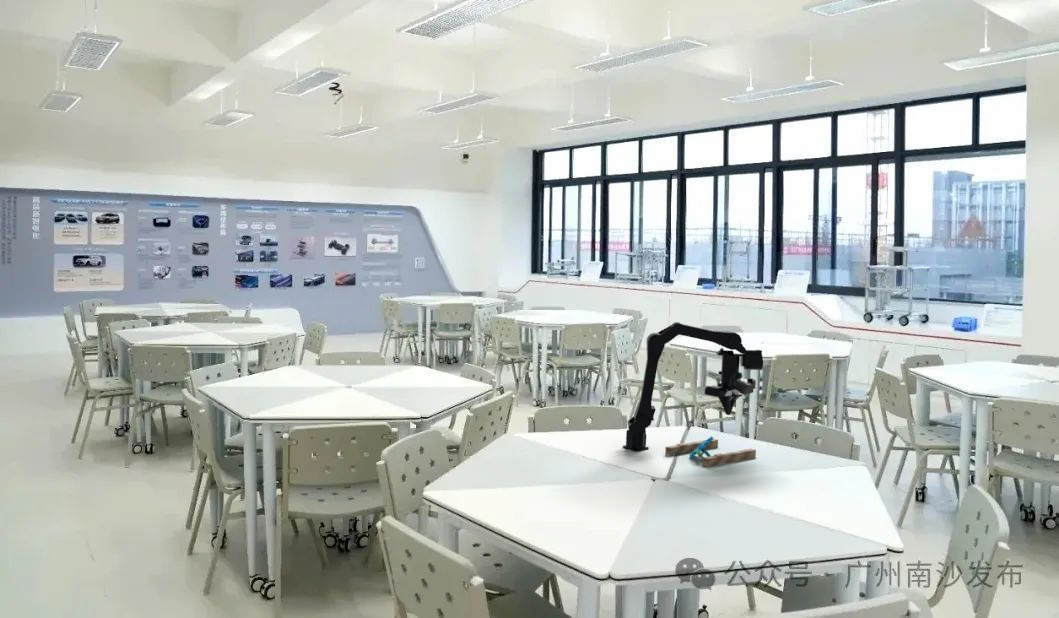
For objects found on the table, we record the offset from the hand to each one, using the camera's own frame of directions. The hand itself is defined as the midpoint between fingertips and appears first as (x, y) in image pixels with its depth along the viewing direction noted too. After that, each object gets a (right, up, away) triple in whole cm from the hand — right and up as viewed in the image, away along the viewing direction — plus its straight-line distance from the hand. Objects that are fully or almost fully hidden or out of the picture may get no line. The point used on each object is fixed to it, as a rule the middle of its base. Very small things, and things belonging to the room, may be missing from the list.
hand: (728, 414), depth 270 cm
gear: (-11, -14, -8) cm, 19 cm away
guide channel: (-7, -13, -4) cm, 15 cm away
